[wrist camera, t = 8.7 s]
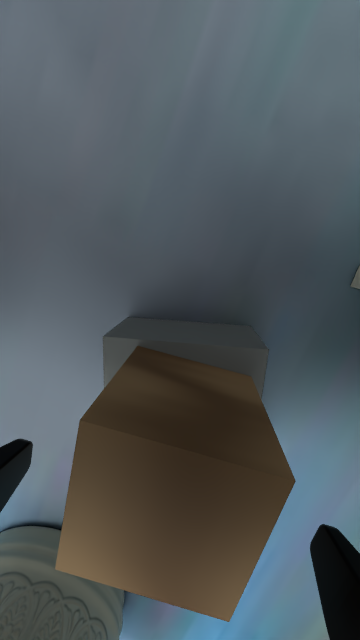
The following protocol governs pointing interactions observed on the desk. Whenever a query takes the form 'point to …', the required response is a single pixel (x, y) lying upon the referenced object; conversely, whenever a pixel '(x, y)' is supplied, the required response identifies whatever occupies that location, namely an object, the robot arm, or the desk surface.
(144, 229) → the desk surface
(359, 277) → the plaque
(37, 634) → the jar
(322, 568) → the robot arm
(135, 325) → the base block
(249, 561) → the walnut cube
